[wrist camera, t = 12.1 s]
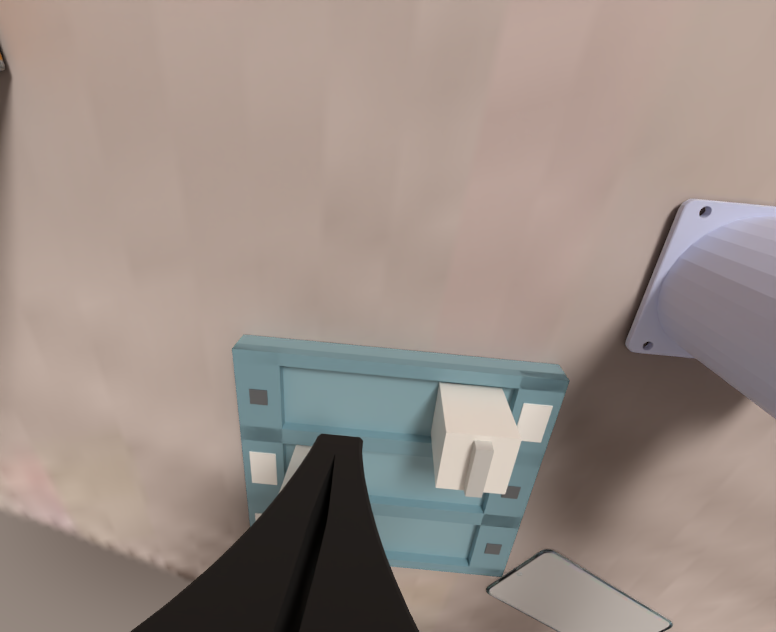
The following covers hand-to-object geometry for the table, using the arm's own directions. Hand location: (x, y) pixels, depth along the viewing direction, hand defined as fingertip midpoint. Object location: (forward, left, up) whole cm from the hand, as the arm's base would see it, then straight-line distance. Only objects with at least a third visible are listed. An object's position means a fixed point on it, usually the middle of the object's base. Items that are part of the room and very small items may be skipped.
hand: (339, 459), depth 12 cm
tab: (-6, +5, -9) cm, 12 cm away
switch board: (-2, +10, -10) cm, 14 cm away
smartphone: (-19, +24, -10) cm, 32 cm away
